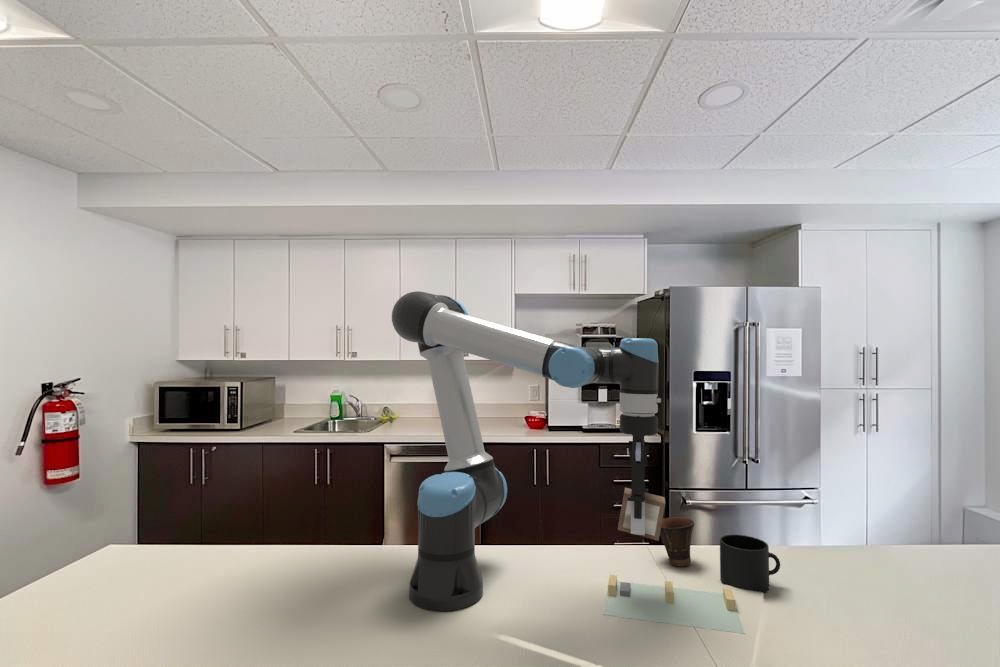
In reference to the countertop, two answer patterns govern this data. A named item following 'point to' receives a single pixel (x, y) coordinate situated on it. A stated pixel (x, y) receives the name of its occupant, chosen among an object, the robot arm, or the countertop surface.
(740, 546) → the mug
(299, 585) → the countertop surface
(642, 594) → the wall board
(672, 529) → the cup
